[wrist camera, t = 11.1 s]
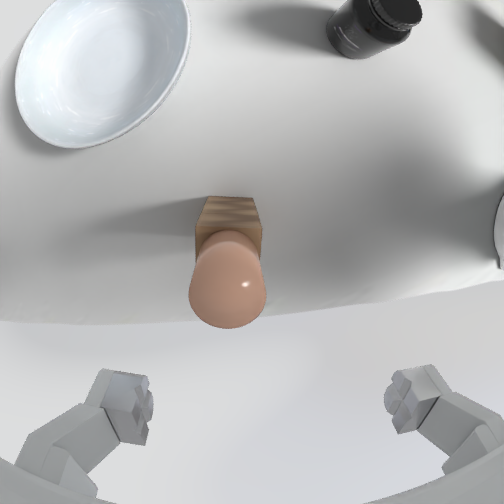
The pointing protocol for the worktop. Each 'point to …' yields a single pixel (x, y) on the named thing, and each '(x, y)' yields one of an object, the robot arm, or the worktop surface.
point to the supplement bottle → (372, 26)
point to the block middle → (230, 209)
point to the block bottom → (230, 200)
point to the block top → (227, 227)
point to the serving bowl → (99, 67)
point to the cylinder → (227, 281)
